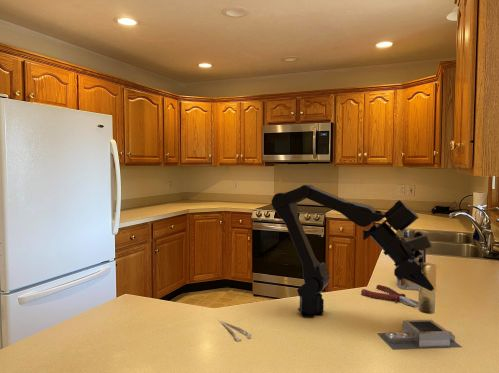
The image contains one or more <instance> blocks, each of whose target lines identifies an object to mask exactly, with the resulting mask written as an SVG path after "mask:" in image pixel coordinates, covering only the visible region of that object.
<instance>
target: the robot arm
mask: <svg viewBox="0 0 499 373" xmlns="http://www.w3.org/2000/svg"><path fill="white" fill-rule="evenodd" d="M306 199H308V200H310V201H312V202H314V203H316V204H320V205H321V206H323V207H326V208H328V209H331V210H333V211H336V212H337V213H340V214H341V215H343V216H344V217H346V219H348V220H349V221H351V222H352V223H354V224H355V225H356V226H359V227H361V228H365V229H363V230H362V233H363V236H362V240H363V241H366V240H367V239H368V238H369V237H370V238H372V240H373V242H375V243H376V244H377V245H378V246H379V248H381V249H382V250H383V254H384V255H385V256H388V257H389V258H390V259H391V260H392V261H393V263H394V264H393V265H394V266H395V268H394V272H393V274H394V276H395V278H396V279H397V278H398V279H399V280H401V279H406V280H409V281H411V282H413V283H415V284H417V285H419V286H422V287H424V288H426V289H428V290H430V291H432V290H433V289H434V287H433V286H432V284H431V283H430V281H429V280H428V278H427V277H426V276H425V274H424V273H423V271H422V263H423V258H424V257H423V256H422V257H421V258H420V259H418V258H416V257H418V256H419V255H422V254H423V252H422V251H421V249H426V250H427V249H430V248H432V246H433V244H432V241H431V239H430V236H429V235H428V233H423V232H421V231H420V230H418V231H417V232H414V233H413V237H411V238H409V239H406V238H405V237H402V236H400V235H398V234H397V233H396V232H397V231H401V232H403V231H404V230H406V229H408V227H409V226H411V225H413V223H414V222H416V221H417V220H418V219H419V216H418V214H417V213H416V212H415V211H414V209H412V208H411V207H410V206H408V205H407V204H406V203H404V202H403V201H402V200H401V199H398V200H397V202H395V203H394V205H393V206H392V207H390V208H389V209H388V210H387V211H384V210H378V209H376V208H374V206H372V205H370V204H366V203H365V204H364V203H360V202H355V201H351V200H347V199H344V198H341V197H339V196H337V195H335V194H332V193H330V192H328V191H325V190H322V189H321V188H318V187H315V186H314V185H312V184H303V185H301V186H300V187H298V188H295V189H291V190H290V191H286V192H285V191H284V192H277V193H275V194H274V195H273V197H272V199H271V206H272V208H273V209H274V212H275V213H276V214H277V216H279V218H280V219H281V220H282V221H283V222H284V224H285V226H286V228H287V230H288V234H289V236H290V238H291V241H292V243H293V245H294V248H295V251H296V253H297V255H298V257H299V260H300V262H301V264H302V277H303V281H304V284H302V285H301V286H300V287H299V288H298V289H297V290H296V291H297V294H298V297H299V307H298V308H297V311H299V313H300V315H301V317H302V318H315V317H317V316H319V317H320V316H321V317H323V316H324V307H325V306H324V302H325V300H324V298H323V295H322V293H321V292H322V291H323V290H324V289H325V287H327V285H328V284H329V283H330V275H331V273H330V272H329V271H328V268H327V265H326V262H324V261H323V262H320V261H319V260H318V259H317V258H316V255H315V253H314V251H313V249H312V246H311V244H310V241H309V239H308V237H307V233H306V232H305V229H304V228H303V224H302V223H301V220H300V218H299V208H298V207H299V206H298V203H300V202H302V201H304V200H306ZM383 219H385V220H384V221H382V220H383ZM380 221H382V222H381V223H380V224H378V222H380ZM376 222H377V223H376ZM373 223H374V224H373ZM372 224H373V225H372ZM370 225H372V226H371V227H369V228H368V229H366V227H368V226H370Z"/></svg>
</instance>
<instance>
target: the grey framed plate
mask: <svg viewBox="0 0 499 373" xmlns="http://www.w3.org/2000/svg"><path fill="white" fill-rule="evenodd" d="M385 333H386V339H387V340H388V341H389V342H390V343H391V344H395V343H414V344H416V345H417V346H418V347H419V348H423V347H450V342H456V339H455V338H456V336H455V334H453V332H452V331H450V330H447V329H446V328H444V327H443V326H441V325H440V324H439V323H437V322H435V321H434V320H432V319H409V320H402V331H397V332H396V331H393V332H391V331H389V332H385Z"/></svg>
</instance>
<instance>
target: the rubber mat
mask: <svg viewBox="0 0 499 373" xmlns="http://www.w3.org/2000/svg"><path fill="white" fill-rule="evenodd" d="M386 333H387V332H378V333H376V334H377V335H378V337H379V338H381V339H382V341H384V343H385V344H386V345H387V346H389V348H391V349H392V350H394V351H395V350H398V351H399V350H420V349H421V350H424V349H427V350H429V349H453V348H463V345H462V346H461V344H459V343H458V342H456V341H455V342H450V347H423V348H419V347H418V346H417V345H416V344H414V343H395V344H391V343H390V342H389V341H388V340H387V339H386Z"/></svg>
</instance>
